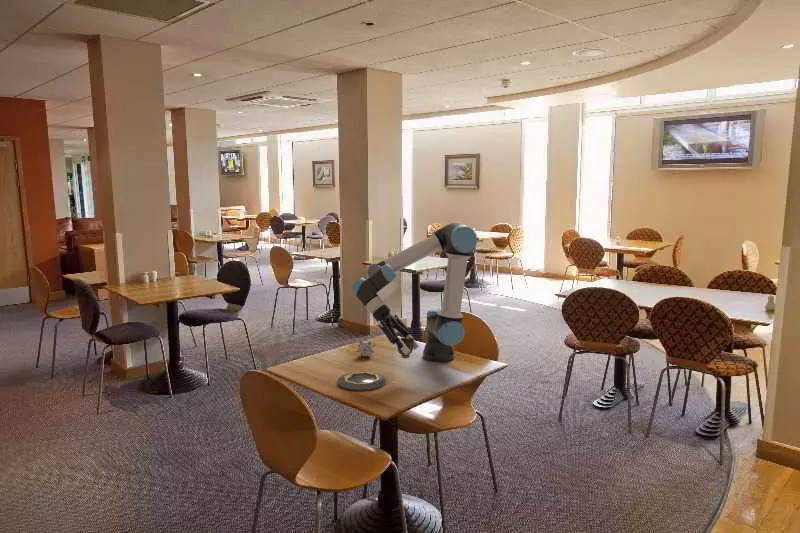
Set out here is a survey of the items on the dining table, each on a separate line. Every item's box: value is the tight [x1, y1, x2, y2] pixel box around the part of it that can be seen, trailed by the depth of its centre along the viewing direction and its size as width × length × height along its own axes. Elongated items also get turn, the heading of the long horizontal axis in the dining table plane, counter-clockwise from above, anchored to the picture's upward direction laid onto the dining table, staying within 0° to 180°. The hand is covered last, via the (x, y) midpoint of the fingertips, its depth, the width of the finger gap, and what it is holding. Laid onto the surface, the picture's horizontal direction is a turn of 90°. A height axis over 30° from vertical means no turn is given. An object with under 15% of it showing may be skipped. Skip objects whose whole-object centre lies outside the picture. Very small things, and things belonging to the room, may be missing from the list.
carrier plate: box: [337, 371, 387, 392], centre depth 245 cm, size 20×20×2 cm
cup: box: [396, 336, 415, 359], centre depth 247 cm, size 8×7×8 cm
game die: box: [356, 338, 376, 359], centre depth 280 cm, size 9×8×10 cm
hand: (412, 350), depth 246 cm, fingers closed on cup, 7 cm apart
